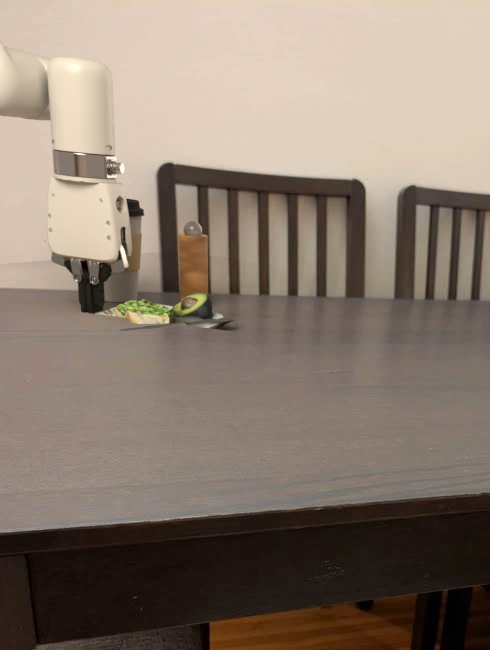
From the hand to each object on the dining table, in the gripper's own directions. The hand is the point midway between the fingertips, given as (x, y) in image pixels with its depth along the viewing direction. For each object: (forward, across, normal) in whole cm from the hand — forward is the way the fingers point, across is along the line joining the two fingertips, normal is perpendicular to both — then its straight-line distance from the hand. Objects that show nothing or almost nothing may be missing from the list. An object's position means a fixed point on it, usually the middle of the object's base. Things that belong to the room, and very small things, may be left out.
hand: (92, 311), depth 101 cm
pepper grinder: (+1, -8, -17) cm, 19 cm away
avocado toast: (+2, -10, -1) cm, 10 cm away
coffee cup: (+2, +5, -16) cm, 17 cm away
